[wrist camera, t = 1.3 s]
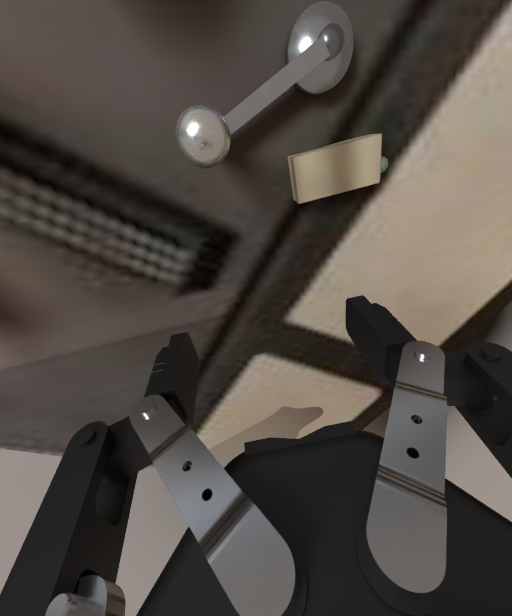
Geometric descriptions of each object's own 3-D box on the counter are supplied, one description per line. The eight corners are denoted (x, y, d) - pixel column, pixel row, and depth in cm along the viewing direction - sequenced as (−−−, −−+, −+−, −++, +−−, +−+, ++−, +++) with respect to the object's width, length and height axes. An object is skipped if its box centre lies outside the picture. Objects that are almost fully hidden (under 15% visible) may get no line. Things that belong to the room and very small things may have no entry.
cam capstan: (332, -11, 24) (521, -271, 9) (355, 68, 27) (524, -23, 12) (182, 118, 28) (134, 93, 13) (218, 173, 31) (214, 206, 16)
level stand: (293, 199, 34) (298, 203, 32) (287, 156, 31) (293, 157, 29) (378, 176, 34) (391, 179, 31) (380, 131, 31) (394, 130, 28)
